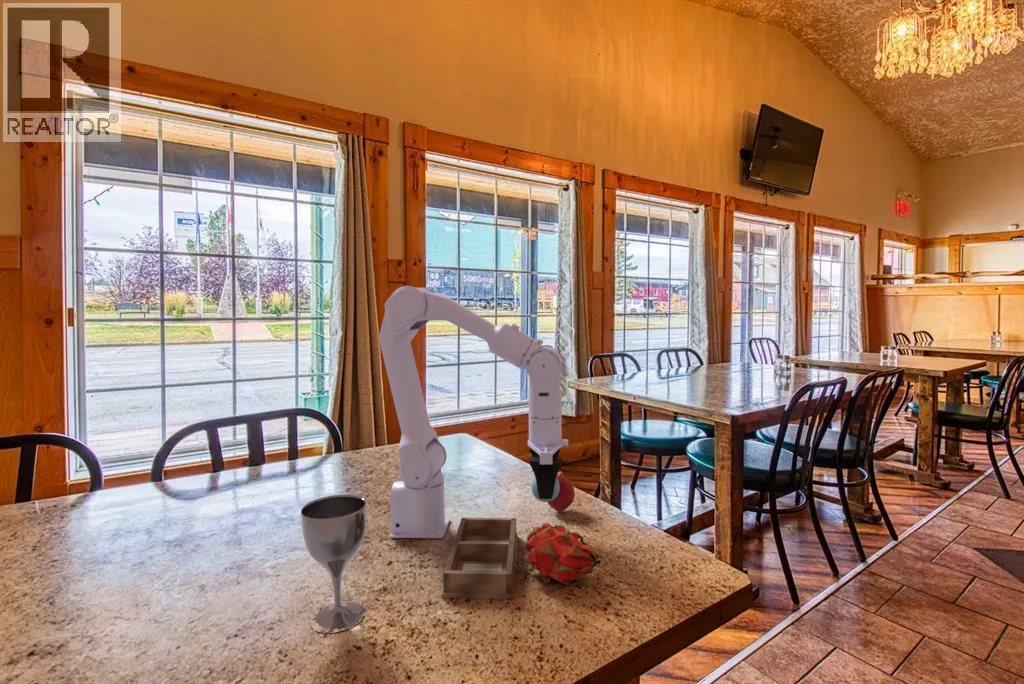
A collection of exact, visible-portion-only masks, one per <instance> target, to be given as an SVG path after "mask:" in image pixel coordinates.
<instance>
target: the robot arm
mask: <svg viewBox="0 0 1024 684" xmlns="http://www.w3.org/2000/svg"><path fill="white" fill-rule="evenodd" d="M384 310H385V311H384V315H383V320H382V323H381V327H380V331H379V334H378V341H379V345H380V350H381V354H382V358H383V363H384V365H385V370H386V374H387V375H386V376H387V378H388V379H387V380H388V383H389V386H390V392H391V396H392V399H393V403H394V407H395V411H396V416H397V419H398V425H399V427H400V428H399V429H400V432H401V436H400V441H399V445H398V453H399V458H400V459H399V464H398V475H399V477H400V479H401V480H397V481H395V482H393V484H392V487H391V489H390V496H389V510H390V511H389V513H390V517H389V518H390V534H389V538H391V539H392V538H393V539H443V538H444V536H445V534H446V531H447V529H448V526H449V523H450V521H451V517H449V516H446V515H445V513H446V512H445V511H446V510H445V508H446V507H445V506H446V505H445V477H444V475H443V472H442V468H443V467H444V465H445V464H446V463H447V457H448V455H447V450H446V448H445V446H444V444H442V443H441V442H440V440H439V437H438V434H437V433H438V432H437V431H436V430H435V428H433V426H432V425H431V422H430V418H429V415H428V410H427V406H426V403H425V399H424V398H425V397H424V394H423V389H422V384H421V381H420V377H419V373H418V369H417V364H416V360H415V355H414V352H413V346H412V343H411V342H412V341H413V339H414V337H415V336H416V335H417V334H418V332H419V330H420V329H421V328H422V327H423V326H425V325H426V324H427V323H429V322H430V321H447V322H449V323H451V324H452V325H454V326H457V327H458V328H460V329H462V330H464V331H466V332H468V333H470V334H472V335H474V336H476V337H478V338H480V339H482V340H483V341H485V342H486V343H487V346H488V349H489V352H490V353H492V354H494V355H496V356H497V357H499V358H500V359H502V360H504V361H505V362H507V363H509V364H511V365H512V366H515V367H516V368H518V369H520V370H525V371H526V372H527V375H528V376H529V389H528V439H527V446H528V447H529V448H528V449H529V452H530V454H531V456H529V457H528V464H529V465H530V468H531V469H532V472H533V474H534V478H536V483H537V489H538V494H539V497H540V499H552V496H553V492H554V487H555V481H556V477H557V474H558V472H560V470H561V467H562V465H563V459H562V458H558V456H559V453H560V451H561V448H562V447H567V446H569V440H568V439H566V438H565V439H563V438H562V434H563V433H562V424H563V423H562V421H563V420H562V418H563V417H562V416H563V415H562V389H561V385H562V379H561V372H562V366H563V361H562V360H563V359H562V356H561V354H560V353H559V351H558V350H556V348H554V347H553V346H552V345H550V344H543V343H544V340H543V339H541V338H538V339H535V338H533V337H532V336H530V335H528V334H526V333H525V332H523V331H521V330H520V326H519V325H518V324H515V323H513V324H511V325H510V324H508V323H507V322H506V323H505V322H504V323H501V324H498V325H495V324H494V323H492V322H491V321H489V320H487V319H486V318H484V317H482V316H481V315H479V314H477V313H476V312H474V311H472V310H471V309H469V308H468V307H465V306H464V305H463V304H461V303H459V302H458V301H456V300H455V299H453V298H450V297H448V296H446V295H444V294H441V293H439V292H434V291H433V290H432V289H430V288H428V287H414V286H410V285H404V286H401V287H398V288H396V289H395V290H394V291H393V292H392V294H391V295H390V296H389V298H388V299H387V300H386V302H384Z"/></svg>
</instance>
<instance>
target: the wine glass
mask: <svg viewBox="0 0 1024 684" xmlns="http://www.w3.org/2000/svg"><path fill="white" fill-rule="evenodd" d="M366 507H367V506H366V500H365V499H364V497H362V496H359V495H356V494H334V495H328V496H323V497H320V498H317V499H314V500H312V501H309V502H307V503H306V504H304V506H302V508H301V510H300V521H301V522H300V523H301V532H302V535H303V541H304V543H305V547H306V550H307V552H308V554H309V556H311V558H312V559H313V560H314V561H315V562H316V563H317V564H319V565H321V566H322V567H323V568H324V569H325V570H326V571H327V572H328V574H329V575H330V578H331V582H332V587H333V595H334V596H333V597H334V602H335V603H332V602H331V603H332V604H329V603H328V604H329V605H327V604H326V605H327V606H325V605H324V606H325V607H323V606H322V607H323V608H322V609H321V610H320V611H319V612H318V614H317V617H316V618H315V619H316V623H318V624H319V626H320V627H321V626H322V627H323V628H324V627H325V628H327V629H328V628H329V629H331V630H332V629H334V628H335V629H336V628H338V629H342V628H344V629H348V628H350V627H352V626H353V628H354V627H356V626H357V625H356V623H358V622H359V620H361V619H362V617H363V616H362V615H363V614H364V612H365V608H366V607H365V608H364V606H365V605H364V604H363V605H364V606H363V605H361V604H362V603H361V602H360V603H358V602H359V601H357V602H355V601H356V600H353V601H342V599H341V590H342V589H341V588H342V579H343V573H344V571H345V569H346V567H347V566H348V564H349V562H351V561H352V559H353V558H354V556H356V554H357V553H358V552H359V550H360V548H361V547H362V544H363V542H364V541H363V540H364V536H365V532H366V523H367V508H366ZM355 625H356V626H355ZM348 630H349V629H348Z"/></svg>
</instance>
